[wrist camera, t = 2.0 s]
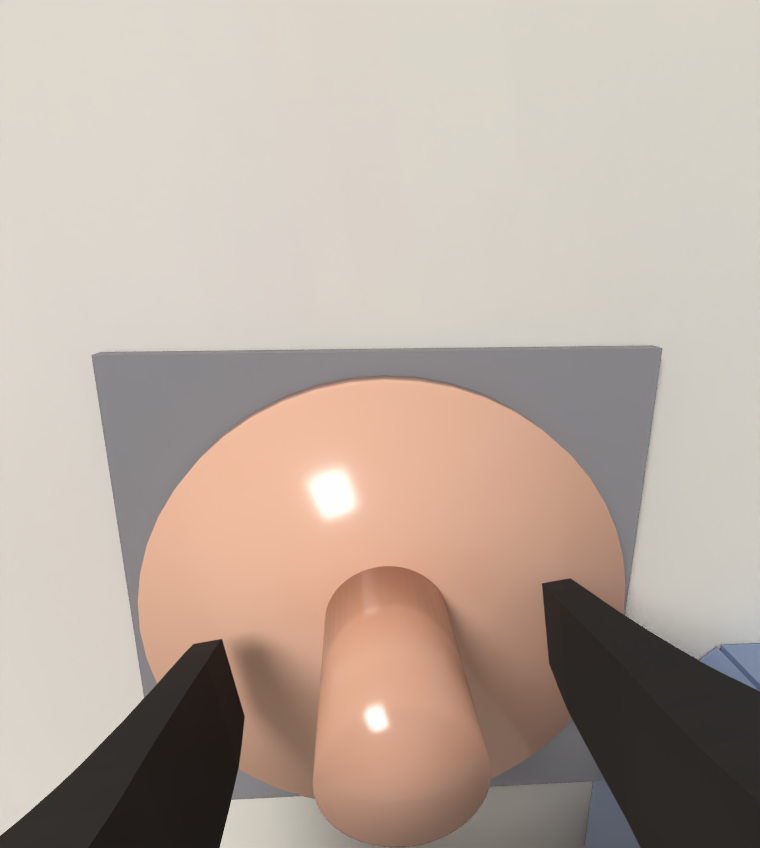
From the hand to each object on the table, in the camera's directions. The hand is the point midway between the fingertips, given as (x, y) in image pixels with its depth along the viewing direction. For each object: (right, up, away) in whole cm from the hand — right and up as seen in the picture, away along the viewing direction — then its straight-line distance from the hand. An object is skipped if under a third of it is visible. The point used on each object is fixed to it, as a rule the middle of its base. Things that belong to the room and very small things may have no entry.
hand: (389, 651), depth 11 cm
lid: (0, +1, +2) cm, 2 cm away
